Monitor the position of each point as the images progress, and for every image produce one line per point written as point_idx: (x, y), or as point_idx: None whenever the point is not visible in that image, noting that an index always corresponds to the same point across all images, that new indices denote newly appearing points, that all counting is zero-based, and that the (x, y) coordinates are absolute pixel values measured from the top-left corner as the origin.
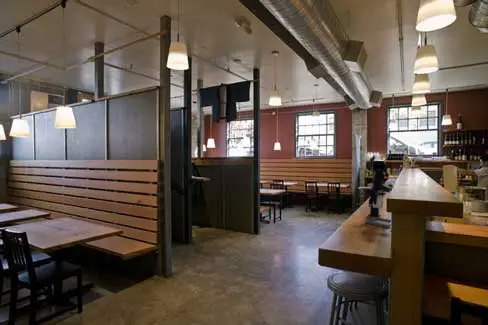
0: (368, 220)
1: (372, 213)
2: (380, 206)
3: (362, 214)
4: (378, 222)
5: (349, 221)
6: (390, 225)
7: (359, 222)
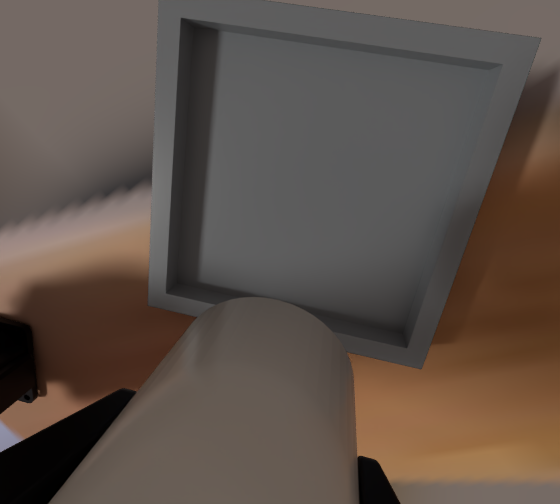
0: (382, 340)
1: (18, 378)
2: (295, 326)
3: None
4: (305, 240)
5: (418, 475)
6: (475, 33)
7: (398, 399)
